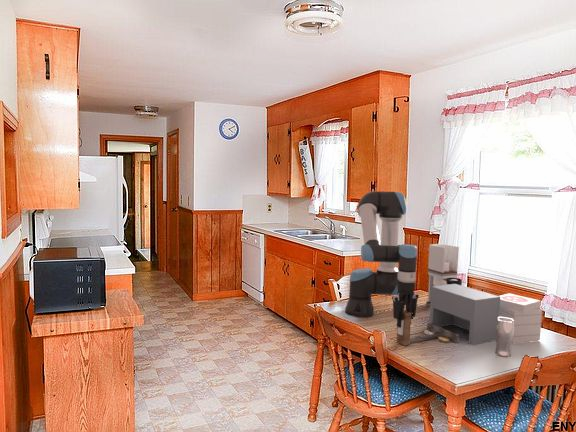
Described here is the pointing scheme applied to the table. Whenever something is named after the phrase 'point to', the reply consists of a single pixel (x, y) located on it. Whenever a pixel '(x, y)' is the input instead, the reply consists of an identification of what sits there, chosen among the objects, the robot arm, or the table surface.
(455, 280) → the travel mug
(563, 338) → the table surface
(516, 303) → the stacked pizza boxes
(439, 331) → the brown upright bracket
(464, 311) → the grey cabinet
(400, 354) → the table surface
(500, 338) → the beer glass
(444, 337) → the brass token
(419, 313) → the table surface
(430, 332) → the steel token
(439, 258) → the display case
